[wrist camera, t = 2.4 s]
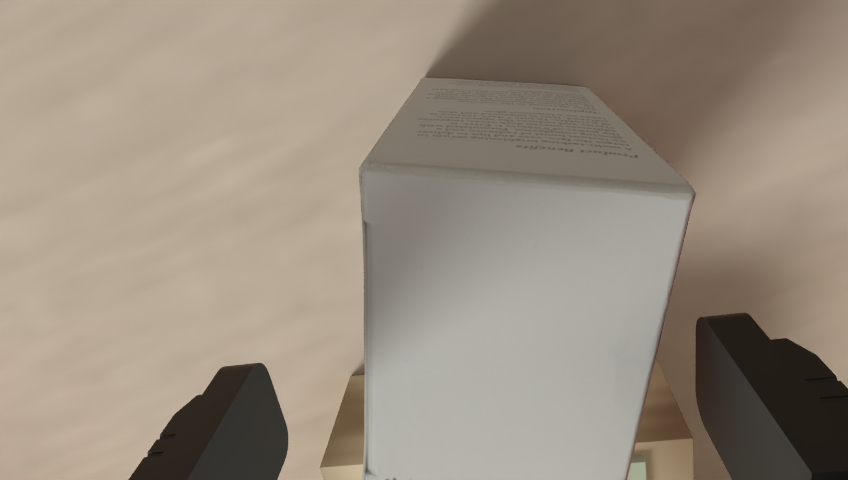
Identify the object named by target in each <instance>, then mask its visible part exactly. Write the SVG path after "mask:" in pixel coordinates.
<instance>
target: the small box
mask: <svg viewBox="0 0 848 480" xmlns="http://www.w3.org/2000/svg"><path fill="white" fill-rule="evenodd" d="M359 182H360V194H361V212H362V227H363V257H364V360H365V374H364V455H363V473H362V480H627V478H628V474H629V469H630V465H631V461H632V457H633V453H634V448H635V444H636V440H637V436H638V431H639V427H640V423H641V418H642V414H643V409H644V405H645V401H646V397H647V393H648V389H649V384H650V380H651V375H652V371H653V368H654V364H655V359H656V354H657V350H658V346H659V342H660V338H661V334H662V329H663V325H664V320H665V315H666V311H667V307H668V303H669V299H670V296H671V292H672V288H673V283H674V279H675V275H676V271H677V267H678V263H679V259H680V254H681V250H682V246H683V242H684V238H685V233H686V229H687V225H688V221H689V216H690V212H691V208H692V205H693V202H694V199H695V195H696V193H695V191H694V189H693V188H692V186H691V185H690V184H689V183H688V182H687V181H686V180H685V179H684V178H683V177H682V176H681V175H680V174H679V173H678V172H676V171H675V170H674V169H673V168H672V167H671V166H670V165H669V164H668V163H667V162H666V161H665V160H664V159H663V158H662V157H660V156H659V155H658V154H657V153H656V152H655V151H654V150H653V149H652V148H651V147H650V146H649V145H648V144H647V143H646V142H645V141H644V140H643V139H642V138H641V137H640V136H638V134H637V133H636V132H635V131H634V130H633V129H631V128H630V127H629V126H628V125H627V124H626V123H625V122H624V121H623V120H622V119H621V118H620V117H618V116H617V115H616V114H615V113H614V112H613V111H612V110H611V109H610V108H609V107H608V106H607V105H606V104H605V103H604V102H603V101H602V100H601V99H600V98H599V97H597V96H596V95H595V94H594V93H593V92H592V91H591V90H590V89H589V88H587V87H580V86H568V85H554V84H538V83H521V82H502V81H485V80H467V79H446V78H422V79H421V80H420V82H419V84H418V85H417V86H416V88H415V89H414V91H413V92H412V93H411V95H410V96H409V98H408V99H407V100H406V102H405V103H404V105H403V106H402V107H401V109H400V110H399V112H398V113H397V114H396V116H395V117H394V119H393V120H392V121H391V123H390V124H389V126H388V127H387V129H386V130H385V131H384V133H383V134H382V136H381V137H380V138H379V140H378V142H377V143H376V144H375V146H374V147H373V149H372V150H371V152H370V153H369V154H368V156H367V157H366V159H365V160H364V161H363V163H362V164H361V166H360V168H359Z"/></svg>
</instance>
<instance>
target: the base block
mask: <svg viewBox="0 0 848 480" xmlns="http://www.w3.org/2000/svg"><path fill="white" fill-rule="evenodd" d="M363 455H364V375H356V376H350V379H349V382H348V385H347V388H346V391H345V394H344V397H343V400H342V403H341V406H340V409H339V412H338V415H337V418H336V421H335V424H334V427H333V430H332V433H331V436H330V439H329V442H328V445H327V448H326V451H325V454H324V457H323V460H322V463H321V466H320V469H321V472H322V475H323V478H324V480H362V473H363ZM627 480H694V471H693V437H692V435H691V433H690V431H689V429H688V426H687V424H686V422H685V420H684V418H683V416H682V413H681V411H680V409H679V407H678V405H677V403H676V400H675V398H674V396H673V394H672V392H671V390H670V387H669V385H668V383H667V381H666V379H665V377H664V374H663V372H662V370H661V368H660V366H659V364H658V361H657V359H655V364H654V368H653V371H652V375H651V380H650V384H649V389H648V393H647V397H646V401H645V405H644V409H643V414H642V418H641V423H640V427H639V431H638V436H637V440H636V444H635V448H634V453H633V457H632V461H631V465H630V469H629V474H628V478H627Z"/></svg>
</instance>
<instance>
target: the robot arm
mask: <svg viewBox="0 0 848 480" xmlns="http://www.w3.org/2000/svg"><path fill="white" fill-rule="evenodd" d="M696 398H697V404H698V408H699V412H700V416H701V419H702V422H703V424H704V426H705V428H706V430H707V432H708V434H709V436H710V438H711V440H712V442H713V444H714V446H715V447H716V449H717V451H718V453H719V455H720V457H721V459H722V461H723V463H724V465H725V467H726V468H727V470H728V472H729V474H730V476H731V478H732V480H848V388H847V387H846V386H845V385H844V384H843V383H842V382H841V381H837V377H836V376H835V374H834V373H833V372H832V371H831V370H830V369H829V368H828V367H827V366H826V365H825V364H824V363H823V362H822V360H821V359H820V358H819V357H818V356H817V355H815V354H814V353H812V352H810V351H808V350H806V349H805V348H803V347H801V346H799V345H797V344H796V343H794V342H792V341H790V340H788V339H787V338H784V339H773V340H770V339H769V338H768V336H767V335H766V334H765V333H764V332H763V330H762V329H761V328H760V327H759V326H758V324H757V323H756V322H755V321H754V320H753V319H752V317H751V316H750V315H749V314H747V313H736V314H727V315H717V316H708V317H700V318H699V319H698V320H697V324H696ZM287 450H288V431H287V426H286V423H285V420H284V417H283V414H282V411H281V408H280V405H279V402H278V399H277V396H276V393H275V390H274V387H273V384H272V381H271V378H270V375H269V373H268V370H267V368H266V367H265V366H264V365H263V364H262V363H254V364H244V365H235V366H226V367H222V368H221V369H220V370H219V371H218V372H217V374H216V375H215V377H214V378H213V380H212V381H211V383H210V384H209V386H208V387H207V389H206V390H205V391H204V393H203V394H202V395H197V396H196V397H195V398H193V399H192V400H191V401H190V402H189V403H187V404H186V405H185V406H184V407H183V408H182V409H180V410H179V411H178V412H177V413H176V414H174V416H173V417H172V419H171V420H170V422H169V423H168V424H167V426H166V427H165V429H164V430H163V431H162V433H161V434H160V439H158V440H156V441H155V443H154V444H153V446H152V447H151V449H150V450H149V451H148V456H147V457H144V458H143V460H142V461H141V463H140V464H139V466H138V467H137V468H136V470H135V471H134V473H133V474H132V476H131V477H130V478H129V480H277V479H278V476H279V474H280V471H281V469H282V466H283V464H284V461H285V458H286V455H287Z"/></svg>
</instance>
